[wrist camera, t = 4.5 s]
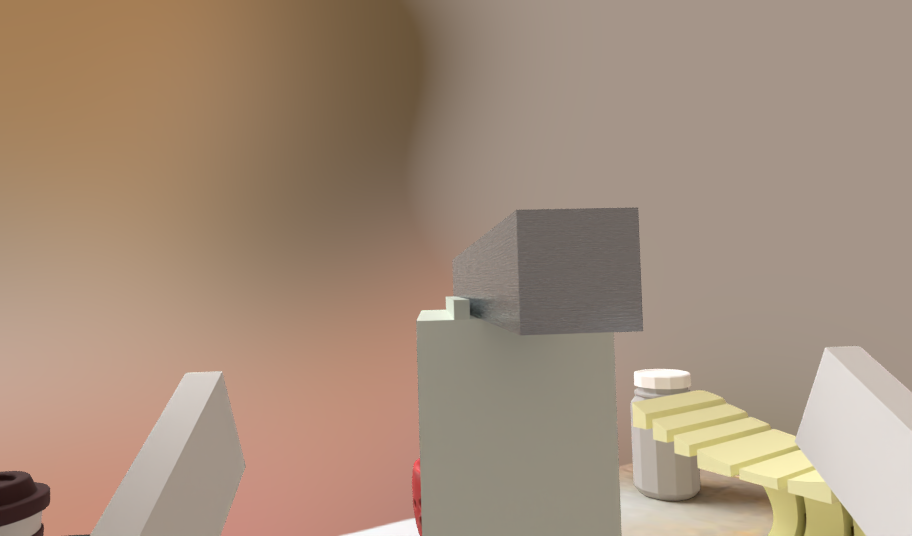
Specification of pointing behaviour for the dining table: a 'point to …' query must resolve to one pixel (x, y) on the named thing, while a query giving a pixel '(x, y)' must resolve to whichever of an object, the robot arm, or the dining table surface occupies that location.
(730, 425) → the slatted curved stool
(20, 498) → the coffee cup
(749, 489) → the dining table surface
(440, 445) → the stand
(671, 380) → the jar
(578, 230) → the bar
